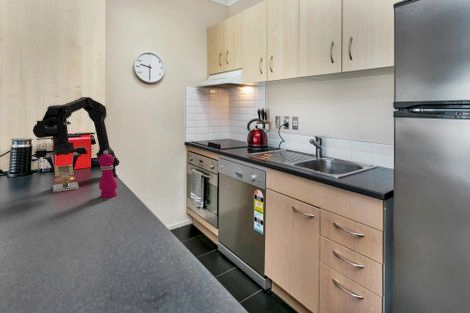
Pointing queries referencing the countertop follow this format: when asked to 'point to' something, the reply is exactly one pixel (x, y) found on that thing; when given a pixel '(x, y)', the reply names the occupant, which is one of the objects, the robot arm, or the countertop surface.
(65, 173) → the collar
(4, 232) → the countertop surface
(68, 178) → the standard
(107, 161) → the pepper mill
